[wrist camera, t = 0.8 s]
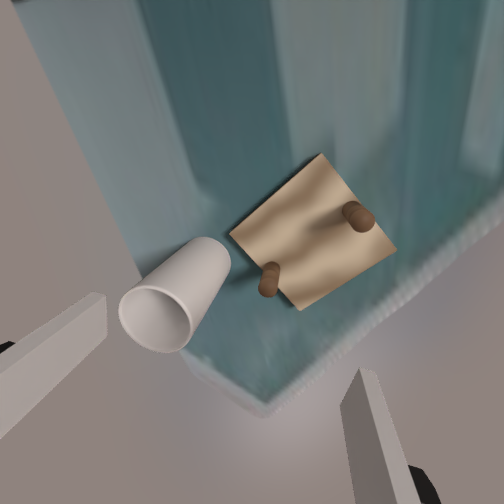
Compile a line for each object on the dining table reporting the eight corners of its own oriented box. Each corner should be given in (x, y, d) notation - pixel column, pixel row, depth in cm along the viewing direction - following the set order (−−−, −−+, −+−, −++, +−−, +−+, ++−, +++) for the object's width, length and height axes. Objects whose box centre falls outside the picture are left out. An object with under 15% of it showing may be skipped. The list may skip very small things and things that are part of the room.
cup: (207, 292, 43) (160, 364, 28) (172, 258, 42) (103, 315, 27) (241, 264, 40) (208, 328, 25) (204, 226, 39) (146, 271, 24)
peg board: (232, 229, 38) (216, 248, 31) (320, 152, 32) (326, 153, 25) (299, 304, 41) (299, 337, 34) (392, 245, 35) (416, 269, 28)
